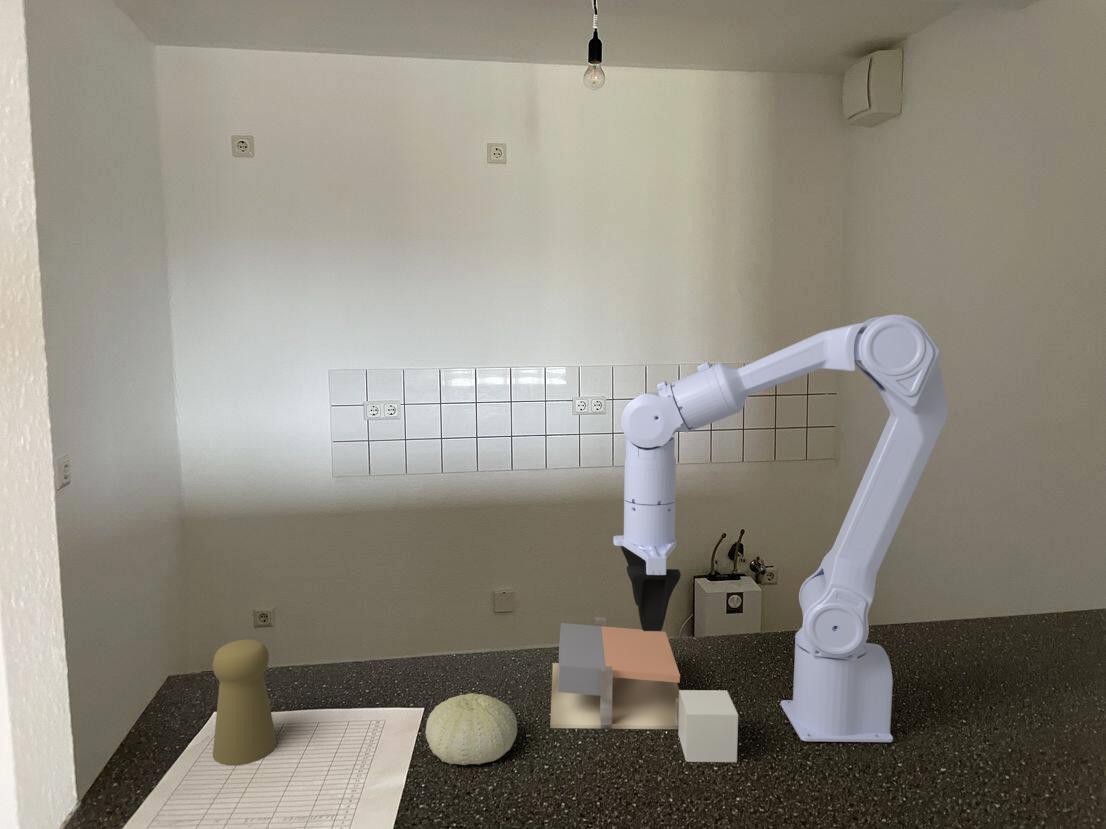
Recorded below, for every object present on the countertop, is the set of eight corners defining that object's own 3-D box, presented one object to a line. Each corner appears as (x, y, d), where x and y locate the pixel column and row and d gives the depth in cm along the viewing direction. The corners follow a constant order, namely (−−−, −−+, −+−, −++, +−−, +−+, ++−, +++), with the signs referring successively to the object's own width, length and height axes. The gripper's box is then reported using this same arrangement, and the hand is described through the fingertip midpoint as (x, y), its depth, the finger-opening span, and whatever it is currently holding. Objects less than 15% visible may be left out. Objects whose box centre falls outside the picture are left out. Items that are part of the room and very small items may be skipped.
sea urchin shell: (512, 760, 71) (455, 697, 71) (457, 807, 72) (401, 746, 73) (534, 712, 79) (483, 656, 80) (484, 755, 81) (434, 701, 82)
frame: (671, 666, 94) (671, 617, 94) (690, 729, 79) (691, 671, 79) (552, 665, 95) (552, 616, 94) (550, 728, 80) (550, 669, 79)
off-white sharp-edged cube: (725, 735, 78) (726, 690, 78) (736, 762, 74) (738, 714, 73) (678, 735, 79) (679, 690, 78) (686, 762, 74) (686, 714, 73)
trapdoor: (663, 654, 93) (665, 631, 92) (677, 702, 81) (680, 675, 80) (559, 646, 93) (561, 622, 92) (558, 692, 81) (560, 665, 81)
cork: (214, 771, 72) (208, 662, 71) (210, 741, 77) (205, 639, 76) (280, 755, 75) (276, 650, 73) (272, 727, 80) (268, 628, 79)
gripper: (610, 486, 91) (609, 594, 92) (618, 515, 76) (617, 642, 78) (668, 486, 91) (666, 594, 92) (687, 515, 76) (684, 643, 78)
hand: (647, 616), depth 85 cm, fingers open, 7 cm apart
